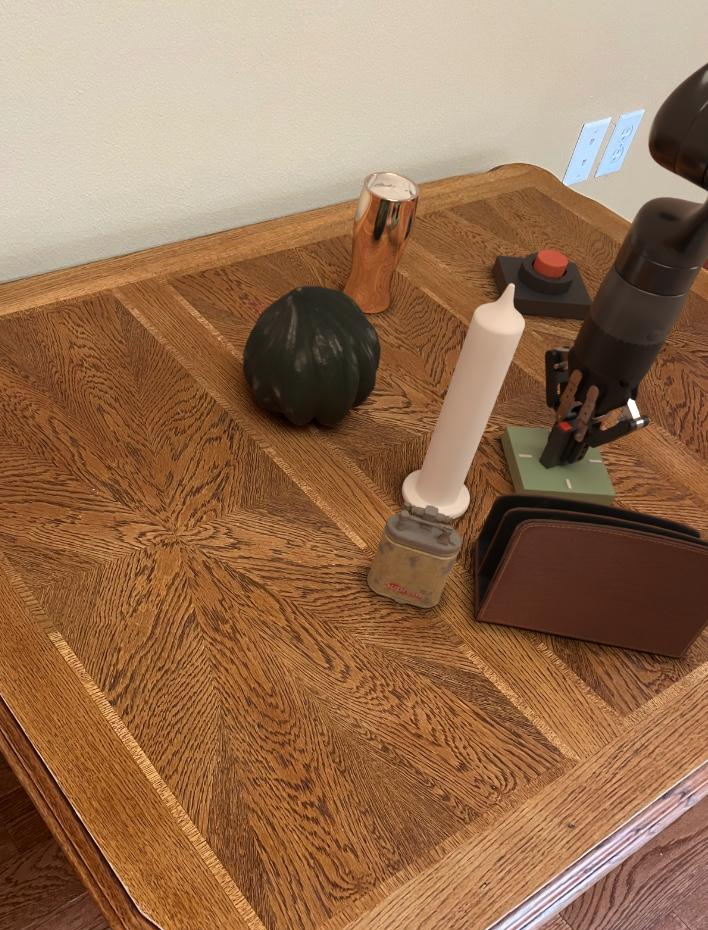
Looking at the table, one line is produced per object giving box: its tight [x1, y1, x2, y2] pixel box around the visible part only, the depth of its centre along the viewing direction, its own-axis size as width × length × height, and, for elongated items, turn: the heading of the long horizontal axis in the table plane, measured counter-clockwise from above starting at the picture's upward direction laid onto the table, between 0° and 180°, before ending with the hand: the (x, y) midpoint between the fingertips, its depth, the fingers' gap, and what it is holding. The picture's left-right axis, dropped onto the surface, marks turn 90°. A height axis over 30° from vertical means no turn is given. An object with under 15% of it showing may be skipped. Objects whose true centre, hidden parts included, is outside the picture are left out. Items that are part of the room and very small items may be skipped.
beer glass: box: [342, 171, 421, 314], centre depth 114 cm, size 7×7×15 cm
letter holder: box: [474, 492, 708, 660], centre depth 85 cm, size 10×20×14 cm, turn 82°
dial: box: [539, 418, 580, 469], centre depth 99 cm, size 5×1×5 cm, turn 120°
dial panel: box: [500, 425, 617, 506], centre depth 102 cm, size 10×10×2 cm
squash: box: [242, 285, 382, 426], centre depth 101 cm, size 14×15×15 cm
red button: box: [533, 249, 569, 278], centre depth 122 cm, size 4×4×2 cm
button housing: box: [491, 252, 593, 320], centre depth 124 cm, size 11×10×4 cm
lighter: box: [366, 501, 463, 609], centre depth 85 cm, size 7×4×10 cm, turn 73°
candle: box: [401, 283, 526, 520], centre depth 88 cm, size 7×7×25 cm
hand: (561, 454), depth 100 cm, fingers closed
